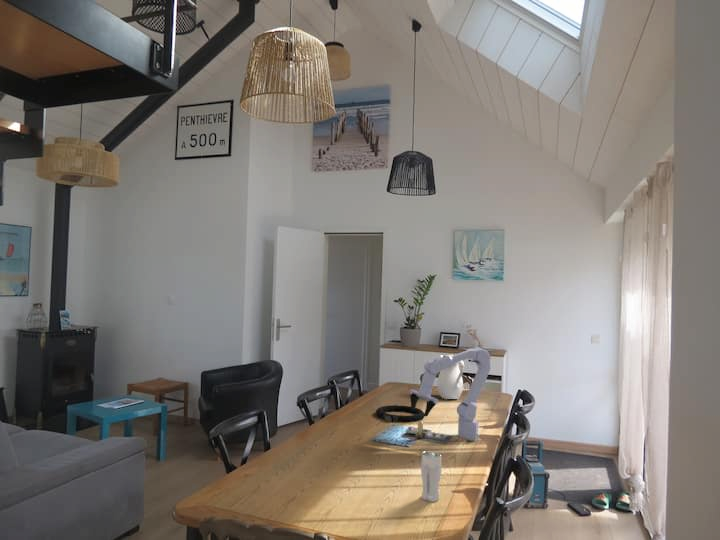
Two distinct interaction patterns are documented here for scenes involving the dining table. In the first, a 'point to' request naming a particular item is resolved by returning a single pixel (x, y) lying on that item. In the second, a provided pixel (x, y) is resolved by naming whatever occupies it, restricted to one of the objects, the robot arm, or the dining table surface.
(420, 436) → the brass pin
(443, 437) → the grey metal plate
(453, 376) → the pitcher
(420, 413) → the cable lock
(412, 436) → the dark grey backing panel
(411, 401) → the robot arm
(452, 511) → the dining table surface
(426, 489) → the beer glass
